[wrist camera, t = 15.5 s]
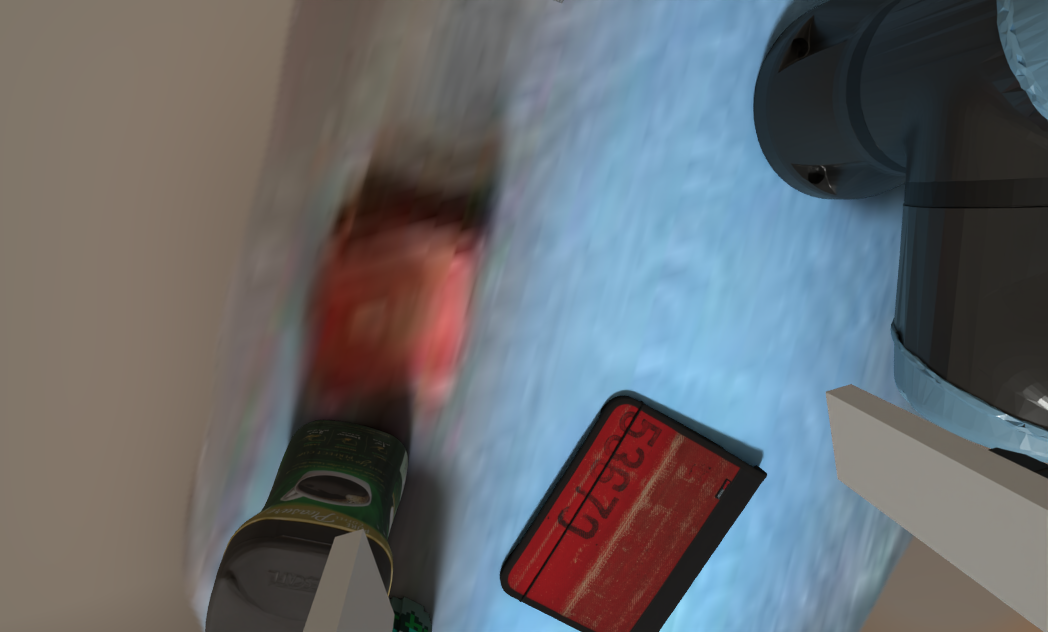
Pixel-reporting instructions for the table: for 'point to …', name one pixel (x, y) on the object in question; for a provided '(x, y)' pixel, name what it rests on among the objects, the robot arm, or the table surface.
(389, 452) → the coffee jar
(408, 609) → the can
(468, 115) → the table surface
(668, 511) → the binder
